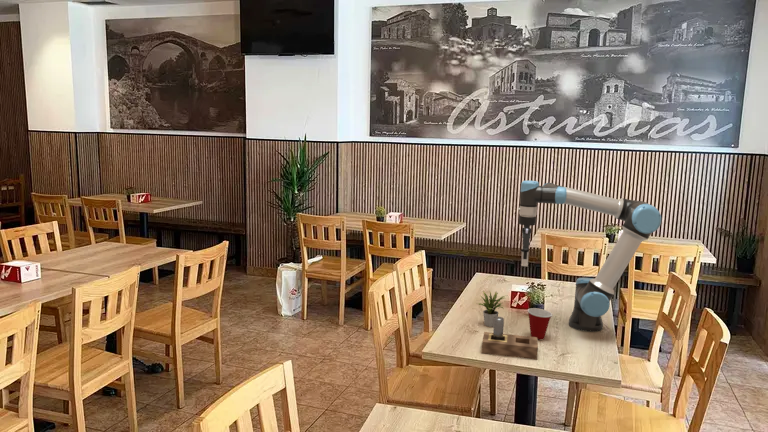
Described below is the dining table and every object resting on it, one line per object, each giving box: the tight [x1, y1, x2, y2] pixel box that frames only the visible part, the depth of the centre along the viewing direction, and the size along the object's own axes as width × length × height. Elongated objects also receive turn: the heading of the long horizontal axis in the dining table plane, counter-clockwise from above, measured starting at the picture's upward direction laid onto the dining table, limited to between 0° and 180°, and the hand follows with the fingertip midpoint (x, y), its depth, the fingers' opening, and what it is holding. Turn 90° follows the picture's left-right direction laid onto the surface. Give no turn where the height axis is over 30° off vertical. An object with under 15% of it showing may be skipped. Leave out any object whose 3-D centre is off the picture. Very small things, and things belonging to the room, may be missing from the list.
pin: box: [492, 316, 505, 341], centre depth 249 cm, size 4×4×13 cm
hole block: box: [481, 331, 539, 360], centre depth 249 cm, size 22×12×5 cm, turn 77°
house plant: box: [477, 291, 508, 328], centre depth 278 cm, size 14×14×16 cm
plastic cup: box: [527, 307, 553, 341], centre depth 265 cm, size 11×11×12 cm
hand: (524, 262), depth 269 cm, fingers open, 13 cm apart
